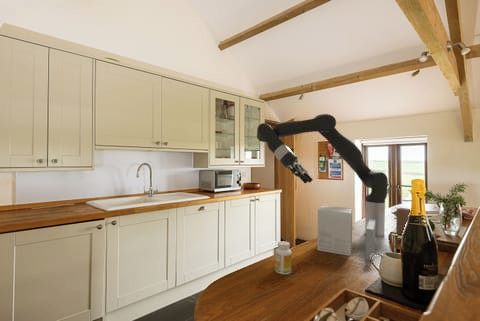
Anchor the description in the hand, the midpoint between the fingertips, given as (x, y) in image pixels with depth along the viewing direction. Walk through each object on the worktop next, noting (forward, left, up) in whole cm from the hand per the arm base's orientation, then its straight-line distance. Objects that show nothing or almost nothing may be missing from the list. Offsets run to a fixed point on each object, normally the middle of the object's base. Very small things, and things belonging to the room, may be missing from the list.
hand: (309, 181), depth 117 cm
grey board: (-5, +26, -29) cm, 39 cm away
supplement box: (0, +12, -29) cm, 31 cm away
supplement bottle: (+34, +1, -29) cm, 45 cm away
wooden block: (-15, +40, -29) cm, 51 cm away
